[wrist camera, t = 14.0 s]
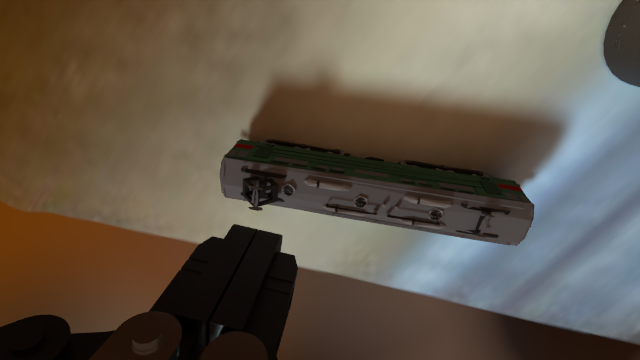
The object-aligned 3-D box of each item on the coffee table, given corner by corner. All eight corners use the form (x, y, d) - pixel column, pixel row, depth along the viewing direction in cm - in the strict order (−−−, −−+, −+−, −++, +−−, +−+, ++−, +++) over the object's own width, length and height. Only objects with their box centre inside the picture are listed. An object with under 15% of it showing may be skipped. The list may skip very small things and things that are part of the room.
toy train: (234, 128, 39) (192, 164, 30) (523, 172, 36) (571, 226, 27) (234, 168, 41) (195, 213, 32) (506, 212, 39) (547, 274, 30)
